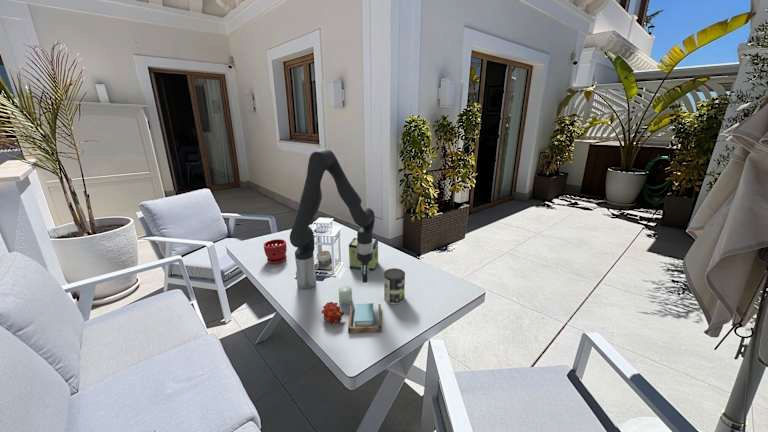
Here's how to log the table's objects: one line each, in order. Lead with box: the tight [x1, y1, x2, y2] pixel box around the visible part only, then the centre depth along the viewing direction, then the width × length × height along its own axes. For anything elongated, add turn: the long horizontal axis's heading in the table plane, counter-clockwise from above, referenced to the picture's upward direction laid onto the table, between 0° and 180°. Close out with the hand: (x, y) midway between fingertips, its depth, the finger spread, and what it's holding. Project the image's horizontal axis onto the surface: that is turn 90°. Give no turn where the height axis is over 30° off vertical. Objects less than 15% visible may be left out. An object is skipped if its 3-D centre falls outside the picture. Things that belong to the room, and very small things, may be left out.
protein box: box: [348, 237, 379, 271], centre depth 178 cm, size 10×16×16 cm
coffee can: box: [383, 268, 406, 305], centre depth 146 cm, size 10×10×14 cm
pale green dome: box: [337, 285, 353, 307], centre depth 145 cm, size 6×6×7 cm
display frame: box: [347, 303, 382, 334], centre depth 133 cm, size 14×16×2 cm
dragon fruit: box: [321, 301, 345, 325], centre depth 133 cm, size 8×8×12 cm
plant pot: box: [263, 238, 288, 264], centre depth 185 cm, size 13×13×12 cm
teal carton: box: [354, 302, 375, 327], centre depth 133 cm, size 8×12×4 cm, turn 2°
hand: (364, 281), depth 146 cm, fingers closed
